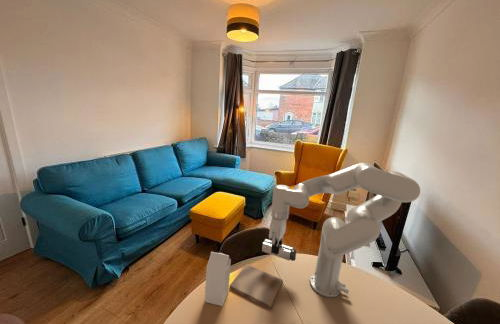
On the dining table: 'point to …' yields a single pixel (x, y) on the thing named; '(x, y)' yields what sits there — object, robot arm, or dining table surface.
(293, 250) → the gray rounded bar
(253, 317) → the dining table surface
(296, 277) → the dining table surface
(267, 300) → the walnut board
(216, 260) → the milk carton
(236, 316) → the dining table surface
